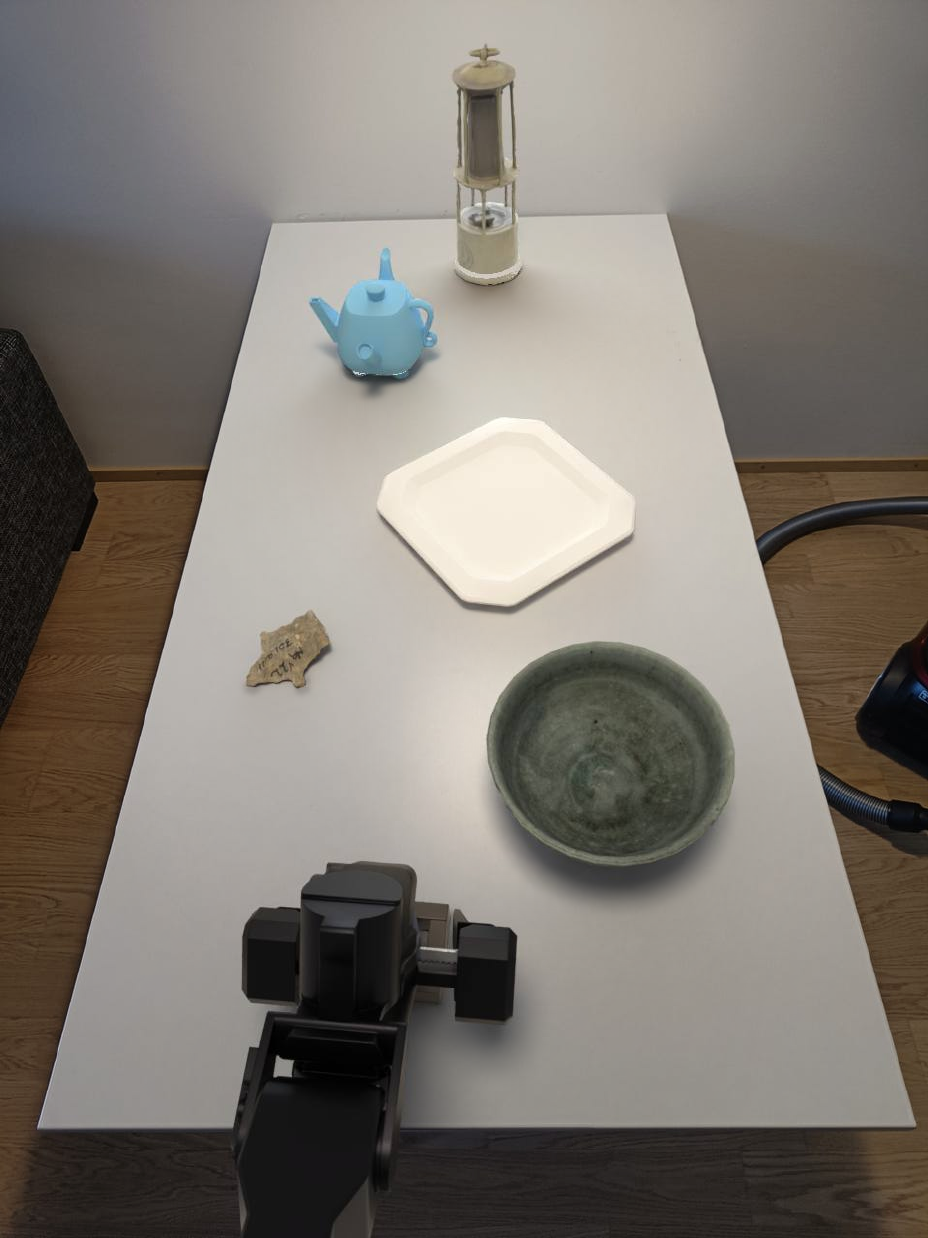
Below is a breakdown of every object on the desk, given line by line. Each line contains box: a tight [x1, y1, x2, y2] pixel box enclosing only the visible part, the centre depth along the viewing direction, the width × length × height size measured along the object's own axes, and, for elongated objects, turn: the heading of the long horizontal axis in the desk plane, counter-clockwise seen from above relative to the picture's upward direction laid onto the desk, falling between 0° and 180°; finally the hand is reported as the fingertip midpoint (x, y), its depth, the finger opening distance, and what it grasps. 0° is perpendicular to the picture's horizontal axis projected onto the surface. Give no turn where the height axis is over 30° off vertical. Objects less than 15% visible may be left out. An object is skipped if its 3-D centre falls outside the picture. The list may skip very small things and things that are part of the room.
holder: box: [414, 900, 451, 1004], centre depth 72 cm, size 7×7×3 cm
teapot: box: [308, 247, 438, 380], centre depth 118 cm, size 15×14×11 cm
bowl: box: [485, 640, 736, 868], centre depth 78 cm, size 21×21×10 cm
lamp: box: [451, 42, 524, 286], centre depth 124 cm, size 10×13×30 cm
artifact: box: [245, 609, 331, 688], centre depth 91 cm, size 7×3×10 cm
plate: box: [375, 416, 637, 608], centre depth 103 cm, size 25×25×2 cm
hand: (398, 910), depth 69 cm, fingers open, 9 cm apart
